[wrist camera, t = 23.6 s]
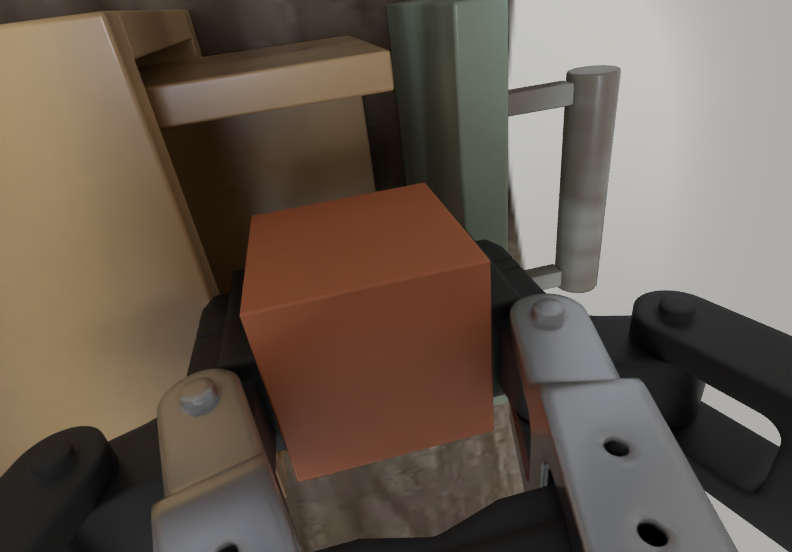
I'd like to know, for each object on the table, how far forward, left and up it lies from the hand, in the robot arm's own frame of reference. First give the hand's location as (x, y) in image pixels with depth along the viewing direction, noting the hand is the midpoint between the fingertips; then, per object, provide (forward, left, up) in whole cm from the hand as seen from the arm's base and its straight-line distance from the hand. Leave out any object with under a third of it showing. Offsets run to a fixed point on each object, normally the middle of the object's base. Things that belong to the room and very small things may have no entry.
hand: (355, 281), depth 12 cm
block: (0, 0, 0) cm, 0 cm away
